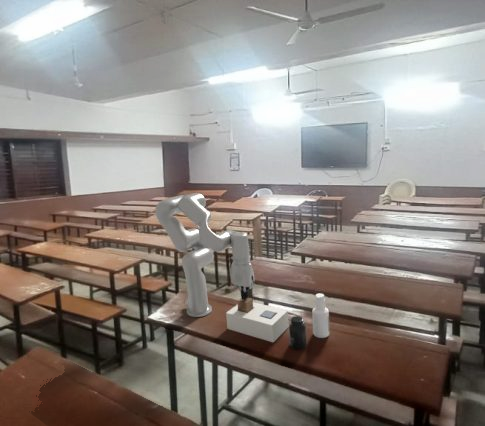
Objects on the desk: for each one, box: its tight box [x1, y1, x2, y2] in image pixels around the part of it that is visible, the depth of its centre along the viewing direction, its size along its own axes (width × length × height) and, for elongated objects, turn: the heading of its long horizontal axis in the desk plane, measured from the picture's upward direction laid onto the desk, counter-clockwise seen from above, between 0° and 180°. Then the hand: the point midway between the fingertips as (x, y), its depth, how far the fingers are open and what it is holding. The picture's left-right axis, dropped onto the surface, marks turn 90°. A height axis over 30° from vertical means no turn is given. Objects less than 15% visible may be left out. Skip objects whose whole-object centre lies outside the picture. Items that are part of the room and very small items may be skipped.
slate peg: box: [260, 310, 276, 319], centre depth 163 cm, size 5×5×6 cm
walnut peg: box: [236, 297, 254, 313], centre depth 169 cm, size 5×5×6 cm
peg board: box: [225, 301, 290, 343], centre depth 166 cm, size 24×14×8 cm, turn 55°
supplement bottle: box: [288, 315, 307, 351], centre depth 150 cm, size 7×7×12 cm
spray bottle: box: [311, 293, 330, 339], centre depth 156 cm, size 7×7×18 cm
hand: (244, 298), depth 168 cm, fingers closed
